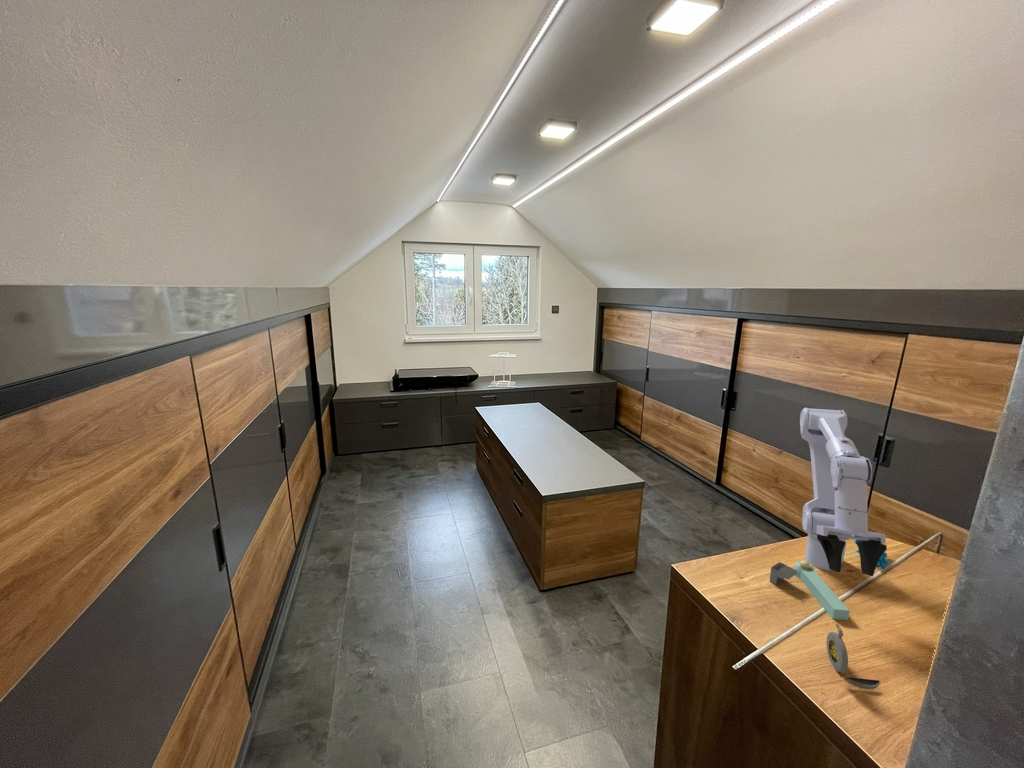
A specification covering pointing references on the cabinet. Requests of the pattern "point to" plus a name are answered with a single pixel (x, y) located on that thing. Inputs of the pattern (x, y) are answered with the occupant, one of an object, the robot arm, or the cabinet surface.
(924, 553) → the cabinet surface
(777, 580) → the block
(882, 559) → the gear
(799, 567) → the latch bar
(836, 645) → the pocket watch
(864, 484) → the robot arm
